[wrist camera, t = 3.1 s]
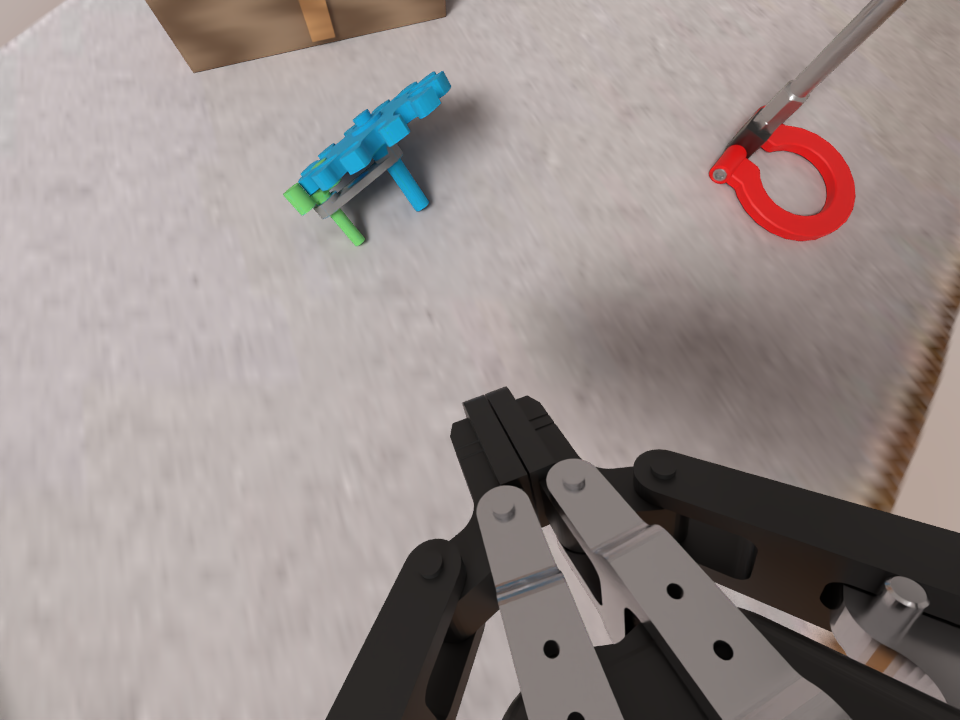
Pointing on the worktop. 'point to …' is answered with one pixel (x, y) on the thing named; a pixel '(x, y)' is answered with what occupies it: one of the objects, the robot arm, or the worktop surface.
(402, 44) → the worktop surface
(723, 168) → the tow hook
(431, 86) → the gear
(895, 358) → the worktop surface
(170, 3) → the rail
